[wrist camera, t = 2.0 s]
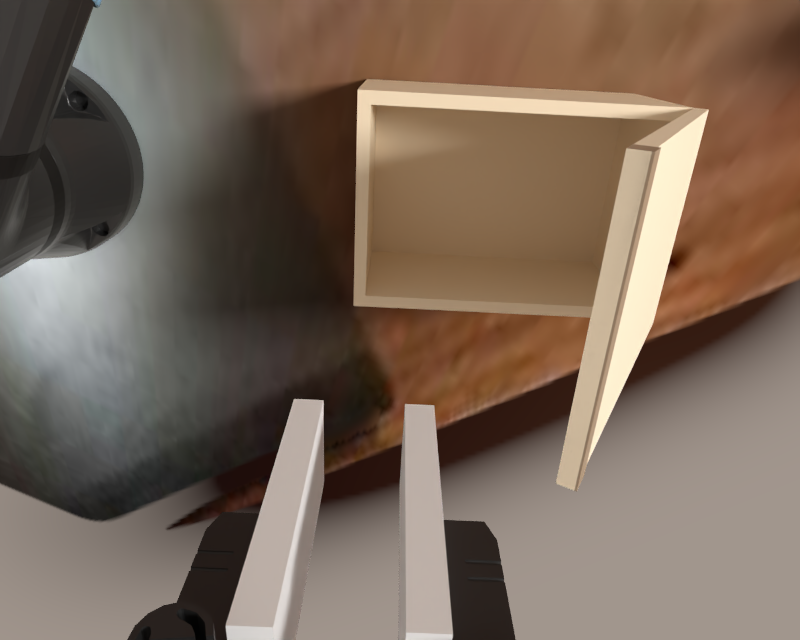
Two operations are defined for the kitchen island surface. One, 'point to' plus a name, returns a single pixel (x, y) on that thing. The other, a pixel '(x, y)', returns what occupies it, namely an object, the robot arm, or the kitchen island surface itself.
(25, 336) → the kitchen island surface
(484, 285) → the carton
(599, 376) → the lid
